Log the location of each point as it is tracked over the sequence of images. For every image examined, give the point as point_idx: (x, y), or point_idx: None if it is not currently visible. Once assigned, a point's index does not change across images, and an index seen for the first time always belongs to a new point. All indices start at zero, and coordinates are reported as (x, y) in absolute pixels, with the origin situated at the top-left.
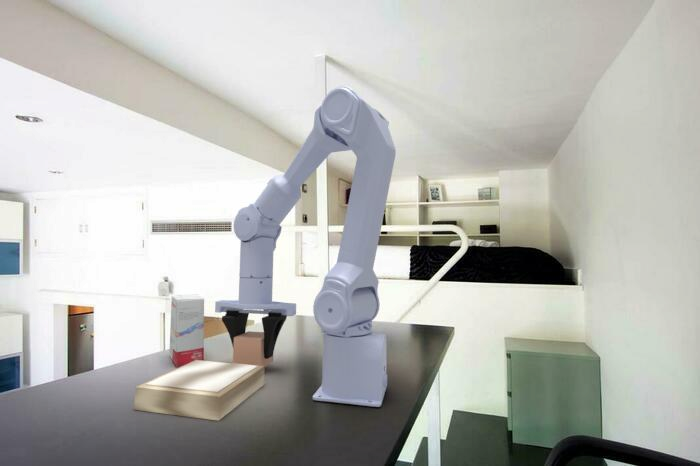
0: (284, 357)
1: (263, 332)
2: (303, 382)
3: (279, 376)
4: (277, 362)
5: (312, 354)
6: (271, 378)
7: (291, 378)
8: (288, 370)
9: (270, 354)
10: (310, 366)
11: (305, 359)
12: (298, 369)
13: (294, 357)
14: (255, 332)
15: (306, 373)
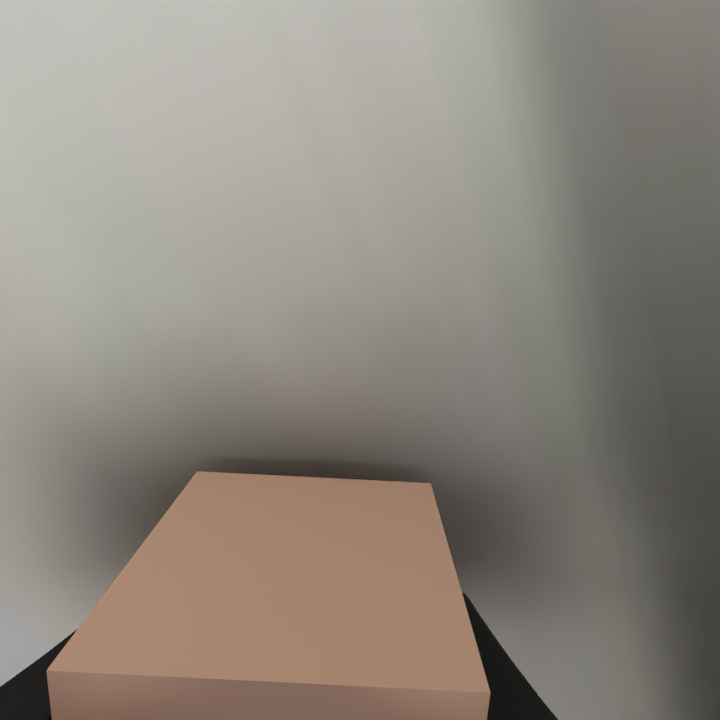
0: (437, 201)
1: (317, 694)
2: (708, 687)
3: (535, 628)
4: (424, 357)
5: (693, 26)
6: None
7: (621, 644)
8: (565, 516)
9: None
10: (716, 400)
11: (647, 221)
12: (634, 482)
13: (530, 180)
14: (197, 717)
15: (705, 547)
